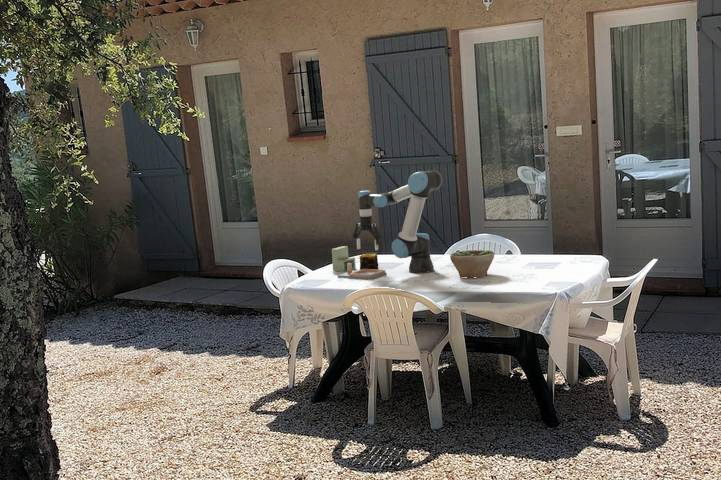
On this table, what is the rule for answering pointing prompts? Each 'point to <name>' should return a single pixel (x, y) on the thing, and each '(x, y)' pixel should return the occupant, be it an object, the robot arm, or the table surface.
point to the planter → (472, 262)
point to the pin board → (362, 273)
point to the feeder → (341, 259)
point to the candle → (368, 261)
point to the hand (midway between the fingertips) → (367, 249)
